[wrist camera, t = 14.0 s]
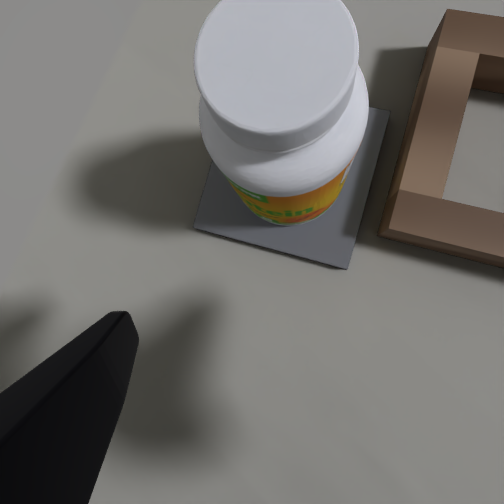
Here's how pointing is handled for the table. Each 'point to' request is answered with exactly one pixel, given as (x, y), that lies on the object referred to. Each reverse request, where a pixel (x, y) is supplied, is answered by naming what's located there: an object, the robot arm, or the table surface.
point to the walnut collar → (446, 143)
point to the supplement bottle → (281, 102)
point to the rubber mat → (308, 234)
